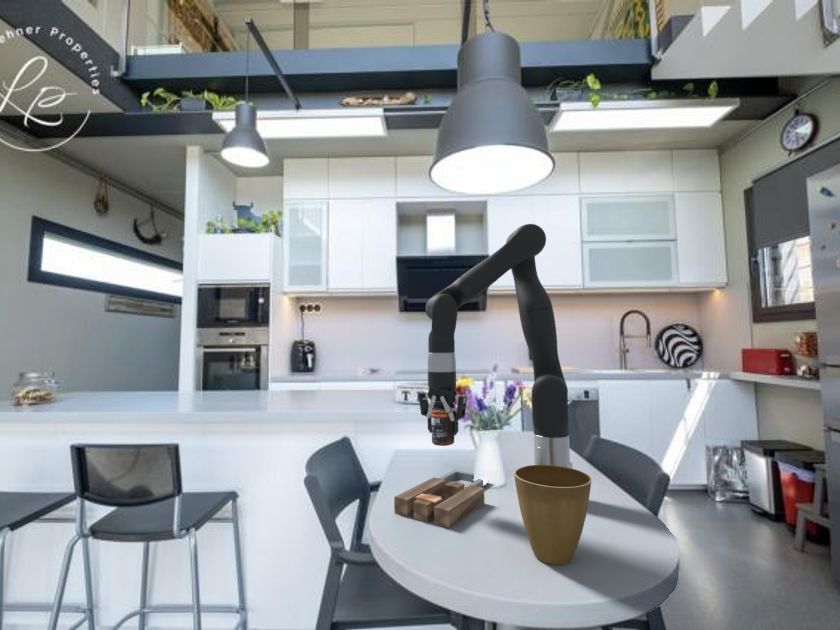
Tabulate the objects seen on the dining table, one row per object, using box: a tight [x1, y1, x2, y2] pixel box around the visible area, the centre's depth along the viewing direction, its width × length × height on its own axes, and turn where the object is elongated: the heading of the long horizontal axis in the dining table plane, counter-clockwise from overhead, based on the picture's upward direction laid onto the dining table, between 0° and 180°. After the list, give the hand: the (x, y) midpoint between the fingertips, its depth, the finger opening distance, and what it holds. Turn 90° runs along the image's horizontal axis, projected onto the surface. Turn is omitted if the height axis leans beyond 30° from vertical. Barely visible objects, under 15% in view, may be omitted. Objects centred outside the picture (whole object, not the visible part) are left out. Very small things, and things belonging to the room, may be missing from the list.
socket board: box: [393, 477, 485, 529], centre depth 111 cm, size 16×18×4 cm
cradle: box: [438, 469, 484, 489], centre depth 128 cm, size 12×12×2 cm
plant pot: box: [513, 464, 592, 566], centre depth 87 cm, size 15×15×16 cm
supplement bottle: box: [431, 401, 455, 447], centre depth 114 cm, size 6×6×11 cm
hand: (442, 433), depth 113 cm, fingers closed on supplement bottle, 6 cm apart
